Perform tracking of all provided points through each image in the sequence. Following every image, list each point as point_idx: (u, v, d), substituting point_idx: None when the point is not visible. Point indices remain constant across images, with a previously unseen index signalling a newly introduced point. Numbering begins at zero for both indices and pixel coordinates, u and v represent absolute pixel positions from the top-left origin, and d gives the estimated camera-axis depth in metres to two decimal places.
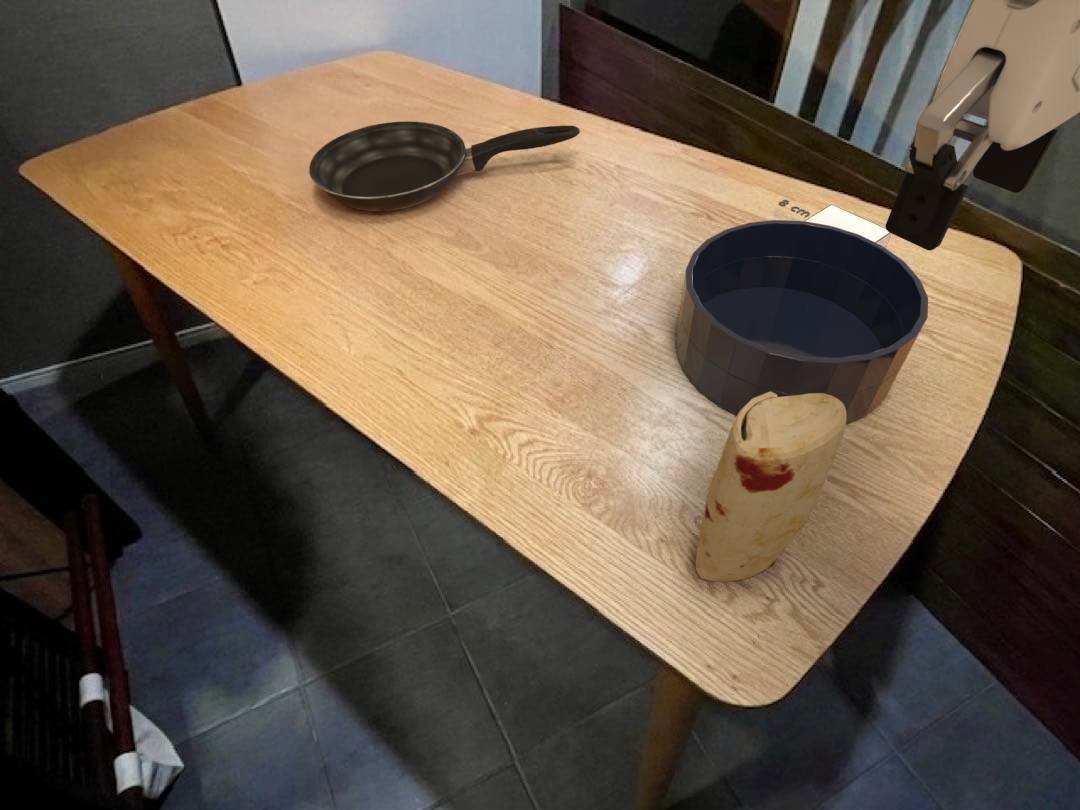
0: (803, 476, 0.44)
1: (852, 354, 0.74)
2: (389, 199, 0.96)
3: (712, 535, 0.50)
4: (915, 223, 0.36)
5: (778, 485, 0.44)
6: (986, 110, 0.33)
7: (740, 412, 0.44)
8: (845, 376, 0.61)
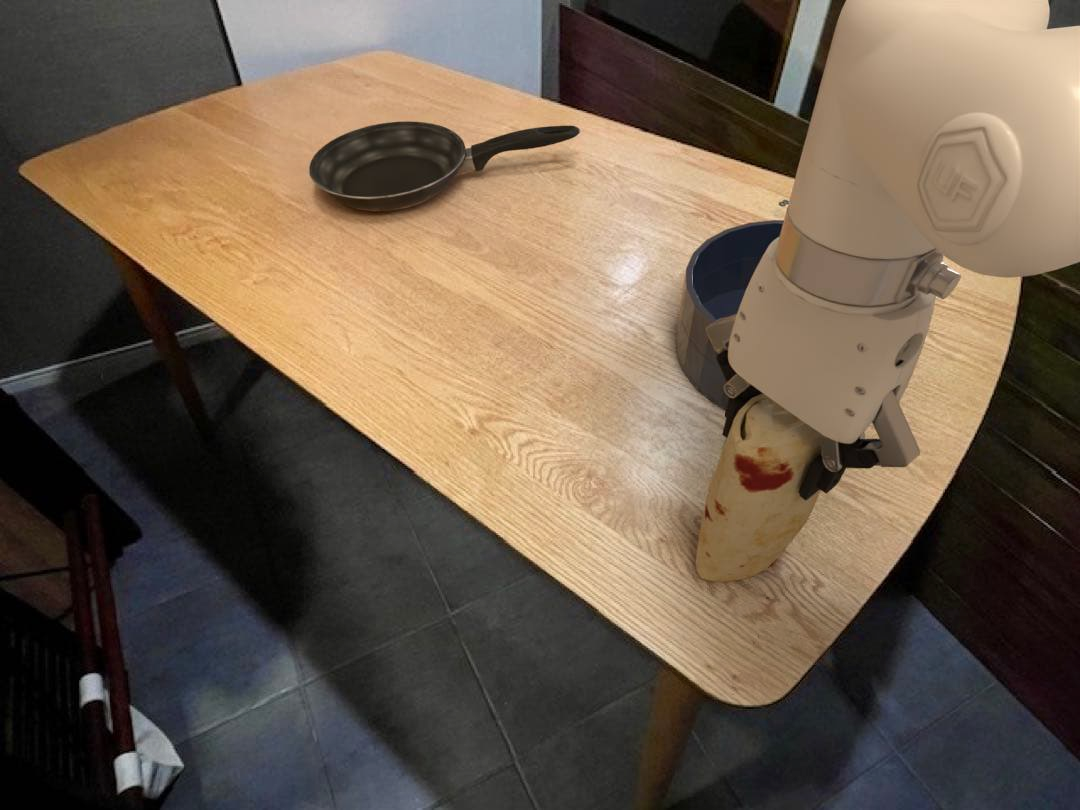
0: (803, 475, 0.44)
1: None
2: (389, 199, 0.96)
3: (712, 535, 0.50)
4: (835, 481, 0.43)
5: (777, 484, 0.44)
6: None
7: (739, 412, 0.44)
8: None
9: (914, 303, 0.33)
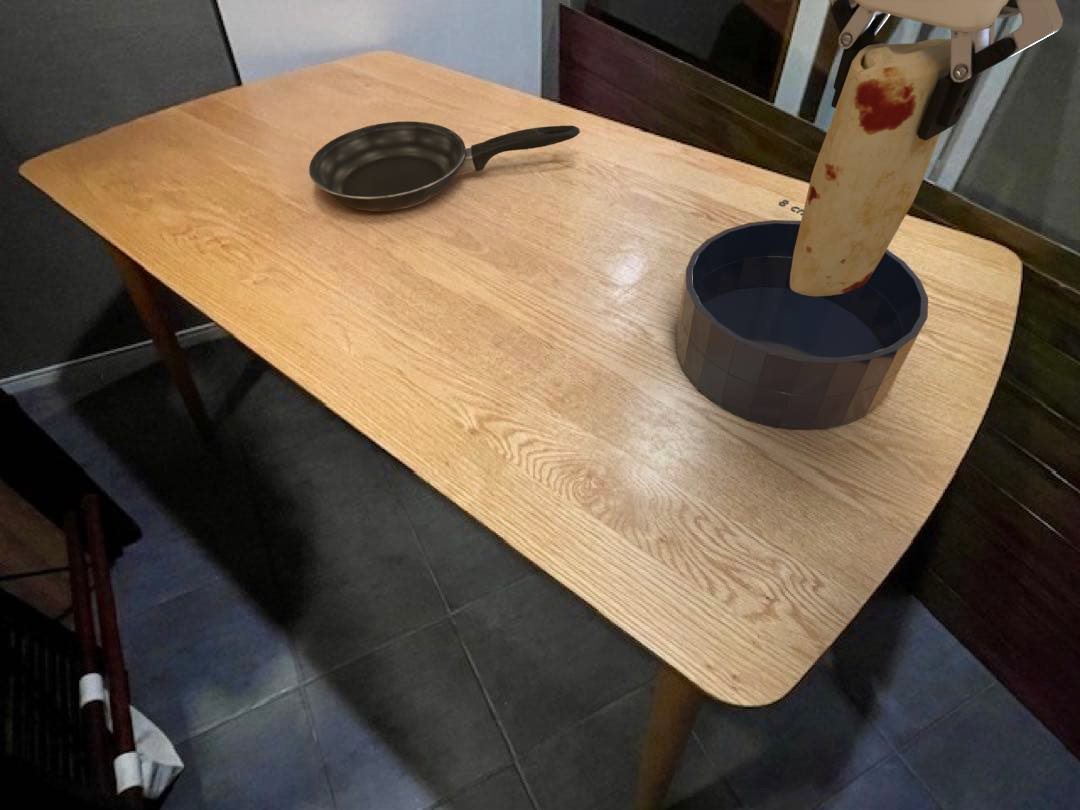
0: (923, 111, 0.44)
1: (852, 354, 0.74)
2: (389, 199, 0.96)
3: (817, 217, 0.50)
4: (957, 114, 0.43)
5: (897, 120, 0.44)
6: None
7: (857, 54, 0.44)
8: (845, 376, 0.61)
9: None
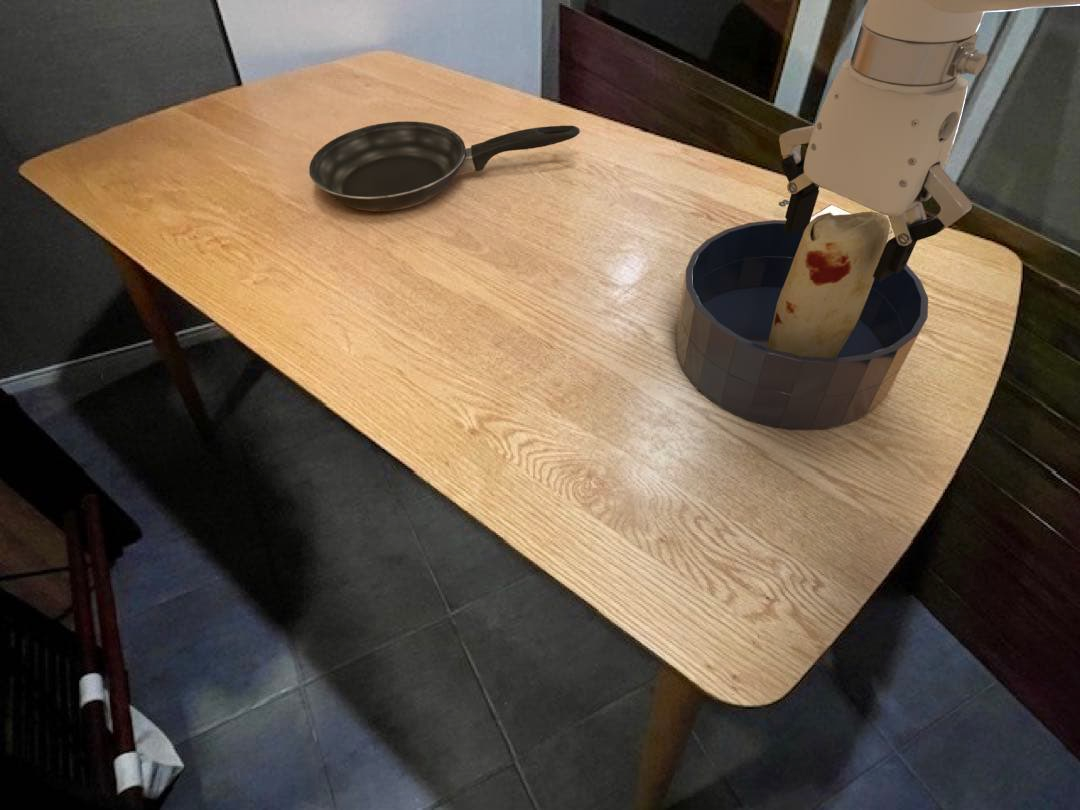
0: (857, 270, 0.58)
1: (852, 354, 0.74)
2: (389, 199, 0.96)
3: (781, 337, 0.64)
4: (903, 263, 0.55)
5: (838, 277, 0.58)
6: None
7: (808, 224, 0.58)
8: (845, 376, 0.61)
9: (953, 87, 0.46)
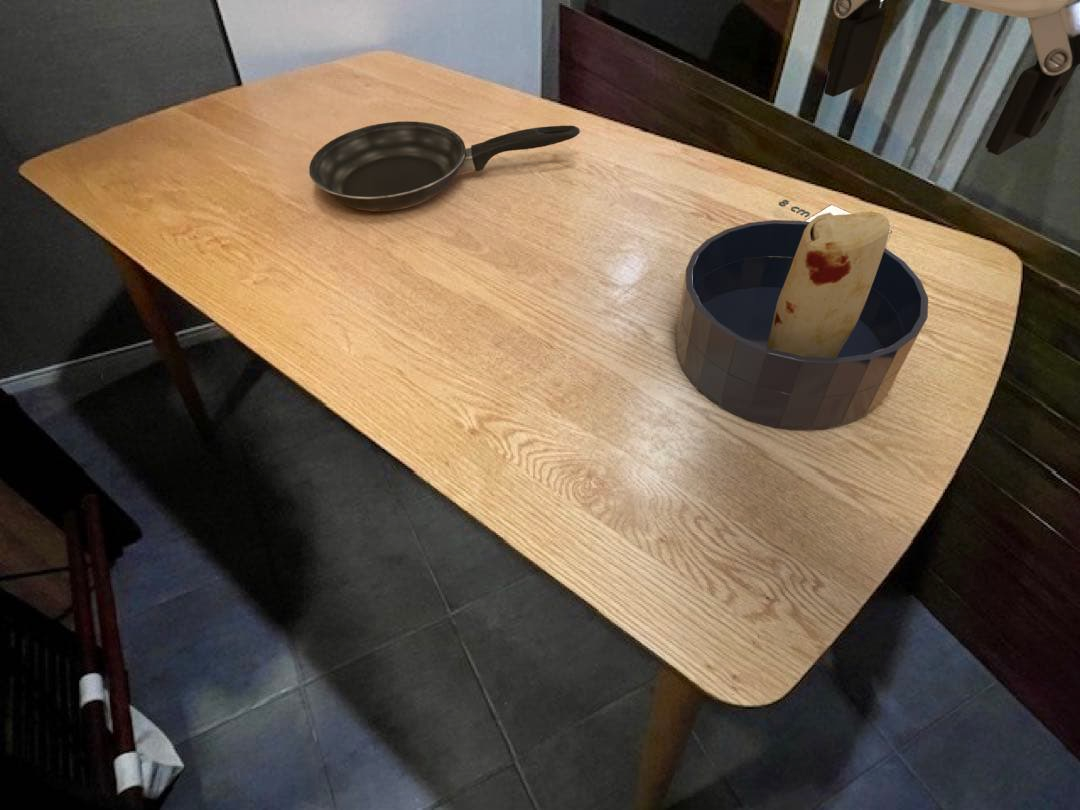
0: (857, 270, 0.58)
1: (852, 354, 0.74)
2: (389, 199, 0.96)
3: (781, 337, 0.64)
4: (1043, 119, 0.32)
5: (838, 277, 0.58)
6: None
7: (808, 224, 0.58)
8: (845, 376, 0.61)
9: None
